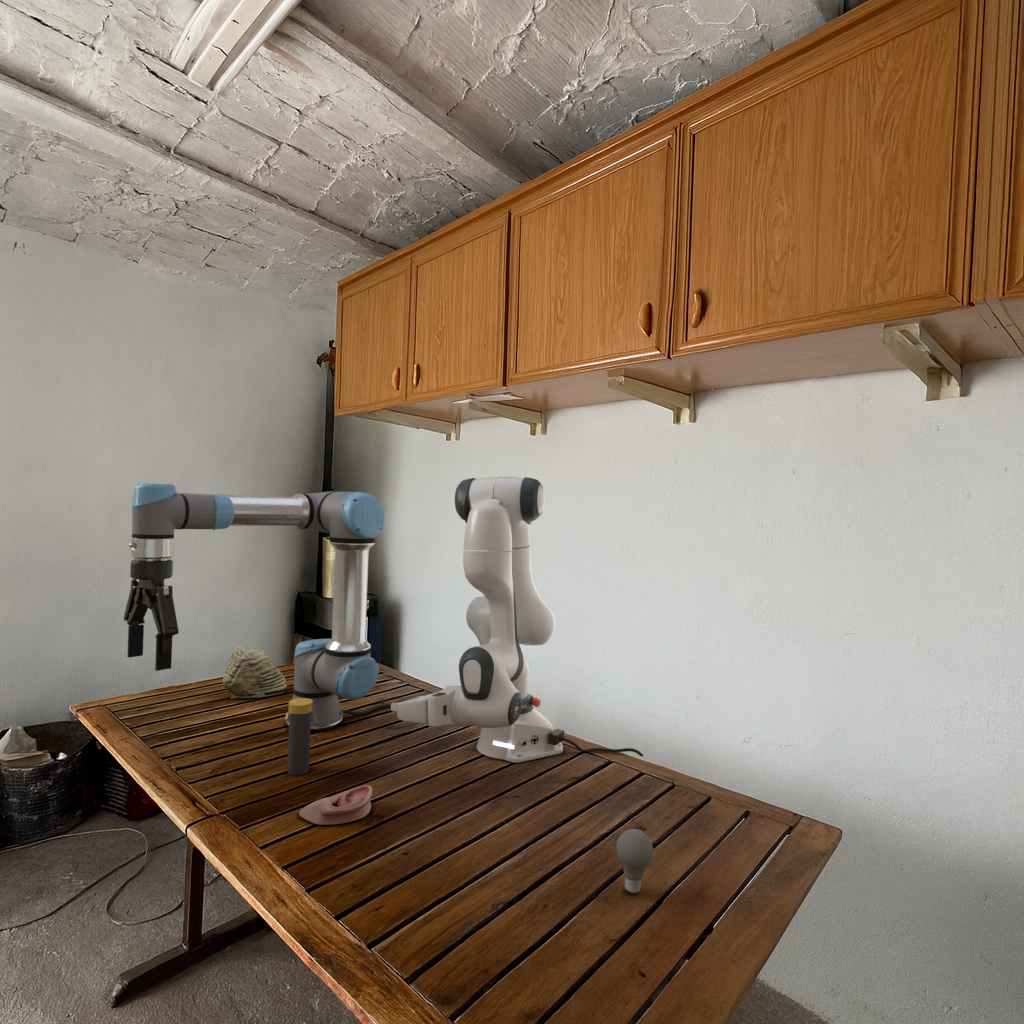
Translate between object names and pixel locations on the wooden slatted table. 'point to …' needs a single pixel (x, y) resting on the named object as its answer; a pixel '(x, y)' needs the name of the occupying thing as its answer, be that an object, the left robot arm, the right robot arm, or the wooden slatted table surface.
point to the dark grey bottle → (299, 743)
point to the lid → (300, 706)
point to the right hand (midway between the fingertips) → (404, 703)
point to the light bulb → (634, 857)
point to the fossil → (252, 674)
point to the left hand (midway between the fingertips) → (148, 662)
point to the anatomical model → (339, 807)
